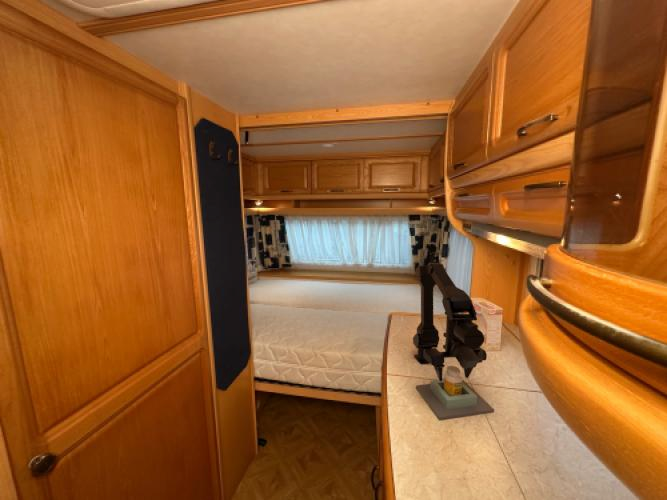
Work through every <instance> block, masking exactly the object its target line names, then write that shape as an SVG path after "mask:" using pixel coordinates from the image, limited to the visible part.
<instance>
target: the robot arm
mask: <svg viewBox="0 0 667 500" xmlns="http://www.w3.org/2000/svg"><path fill="white" fill-rule="evenodd" d="M414 274H415V277H416V281H417V283H418V284H419V286H420V323H419V324H418V326H417V327H416V334H415V335H414V336H413V337H412V344H413V345H414V347H415V348H416V349H417V352H416V353H417V354H414V355H413V356H414V358H415V360H417V362H418V363H419V364H420V365H427V364H429V365H430V366H432V367H433V368H434V371H435V373H436V377H437V378H438V379H437V380H440V381H442V379H443V368H444V367H446V365H445V360H446V359H454V358H455V360H457V362H458V364H459V366H460V367H461V368H462V369H463V372H464V377H465V378H466V379H469V377H470V375H471V373H472V371H473V370H474V369H475V368H476V367H477V365H478V364H480V363H483V361H487V355H488V354H487V351H485V350H483V349H482V348H481V347H480V346H481V345H482V344H483V342H484V335H483V333H482V332H481V331H480V330H478V325H477V324H475V323H473V322H472V320H477V317H476V314H477V313H476V311H475V308H474V306H473V303H472V300H471V299H470V298H471V297H470V295H468V293H467V292H466V291H465V290H463V289H461V288H459V287H457V286H456V284H455V283H454V282H453V280H452V279H451V277H450V276H449V274H448V273H447V271H446V270H445V266H444V264H443V263H441V262H436V263H435V262H433V263H428V264H425V265H424V264H423V265H421V264H419V265H418V266H417V267H416V268H415V271H414ZM436 285H437V288H438V289H439V291H440V293H441V295H442V301H441V304H442V307H443V309H444V314H445V316H446V320H445V322H446V323H445V332H443V337H444V338H445V341H444V344H442V348H443V349H444V351H439V350H438V349H437V348H438V346H439V343H440V342H439V341H440V336H439V335H440V334H439V330H438V329H437V327H436V326H435V324H434V288H435V286H436ZM468 312H469V314H468Z"/></svg>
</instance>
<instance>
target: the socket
mask: <svg viewBox="0 0 667 500" xmlns="http://www.w3.org/2000/svg"><path fill="white" fill-rule="evenodd" d="M415 389H416V391H417V393H419V394H420V395H419V396H421V398H422V399H423V400H424V401H425V403H426V405H427V406H428V407H429V408H430V410H431V411H432V413H433V414H434V415H435V416H436V418H437V419H438V420H439V421H444V420H445V421H446V420H452V419H457V418H465V417H472V416H479V415H484V414H493V413H495V409H494V408H493V407H492V406H491V405H490V404H489V403H488V402H487V401H486V400H485V399H484V398H483V397H482V396H481V395H480V394H479V393H477V391H476V390H475V389H473V388H472V387H471V386H470V385H469V384H468V383H467V382H466V381H465V380H464V379H462V395H458V396H450V397H449V396H448V395H447V394H446V392H445V391H444V378H442V381H440V380H439V379H433V380H430V383H427V384H418V385H415Z"/></svg>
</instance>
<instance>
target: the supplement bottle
mask: <svg viewBox="0 0 667 500" xmlns="http://www.w3.org/2000/svg"><path fill="white" fill-rule="evenodd" d="M443 379H444V391H445V392H446V394H447V395H448V396H449V397H450V396H458V395H462V380H463V377H462V375H461V369H460V368H459V367H457V366H454V365H449V366H447V367H446V372H445V373H444V374H443Z"/></svg>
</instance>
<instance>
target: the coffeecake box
mask: <svg viewBox="0 0 667 500" xmlns="http://www.w3.org/2000/svg"><path fill="white" fill-rule="evenodd" d="M470 299H471V300H472V303H473V306H474V308H475V311H476V313H477V314H476V317H477V320H472V322H473V323H475V324H477V325H478V330H480V331H481V332H482V333H483V335H484V342H483V344H482V345H481V346H480V348H482V349H483V350H485V351H486V352H500V351H501V338H502V326H503V315H504V312H503V311H504V308H503V307H500V306H499V305H497V304H495V303H494V302H491V301H489V300H487V299H485V298H483V297H470ZM467 314H469V312H468V313H467Z"/></svg>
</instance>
